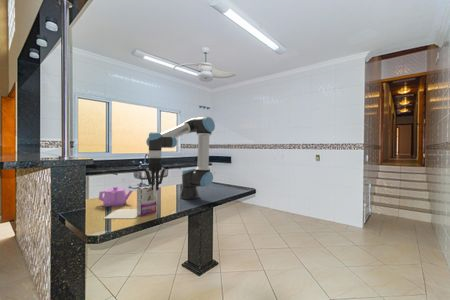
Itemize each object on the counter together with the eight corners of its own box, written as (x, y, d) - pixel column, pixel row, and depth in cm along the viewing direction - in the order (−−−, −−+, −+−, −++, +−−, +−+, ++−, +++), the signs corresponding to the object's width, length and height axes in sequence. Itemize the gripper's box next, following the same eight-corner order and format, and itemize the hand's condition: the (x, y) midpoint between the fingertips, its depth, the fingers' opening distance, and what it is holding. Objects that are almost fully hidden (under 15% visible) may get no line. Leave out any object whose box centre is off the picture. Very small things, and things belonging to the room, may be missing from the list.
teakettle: (96, 205, 158) (96, 187, 158) (118, 200, 173) (118, 184, 173) (112, 208, 150) (112, 190, 150) (133, 202, 165) (133, 186, 165)
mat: (145, 209, 148) (145, 209, 148) (134, 218, 130) (134, 218, 130) (117, 209, 147) (117, 209, 147) (103, 218, 129) (103, 218, 129)
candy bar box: (152, 211, 145) (152, 185, 145) (156, 212, 142) (157, 186, 142) (136, 214, 136) (136, 187, 136) (140, 216, 133) (141, 188, 133)
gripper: (167, 157, 142) (167, 194, 142) (146, 157, 141) (146, 194, 142) (164, 157, 134) (164, 197, 135) (142, 157, 134) (142, 197, 134)
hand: (155, 195), depth 138 cm, fingers closed
